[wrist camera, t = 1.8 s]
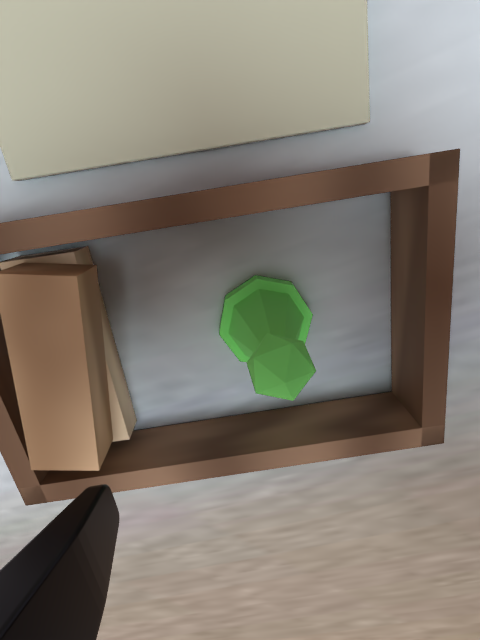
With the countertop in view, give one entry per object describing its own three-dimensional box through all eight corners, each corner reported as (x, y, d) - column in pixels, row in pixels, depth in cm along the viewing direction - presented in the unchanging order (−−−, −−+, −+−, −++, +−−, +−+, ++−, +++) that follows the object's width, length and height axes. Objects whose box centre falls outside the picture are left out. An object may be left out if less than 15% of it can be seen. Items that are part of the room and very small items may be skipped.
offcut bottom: (92, 244, 16) (73, 251, 14) (139, 414, 19) (129, 439, 17) (25, 254, 16) (-2, 262, 14) (83, 422, 19) (67, 447, 17)
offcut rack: (414, 156, 15) (460, 148, 12) (410, 405, 19) (443, 443, 16) (-39, 230, 15) (-101, 239, 12) (55, 458, 19) (25, 505, 16)
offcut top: (96, 265, 14) (77, 276, 12) (113, 439, 17) (99, 470, 15) (24, 262, 14) (-8, 273, 12) (52, 438, 17) (31, 470, 15)
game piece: (208, 285, 16) (199, 335, 10) (302, 264, 16) (344, 304, 10) (229, 368, 18) (231, 451, 12) (315, 350, 17) (358, 426, 12)
